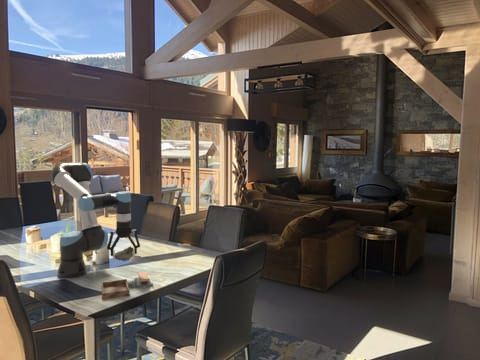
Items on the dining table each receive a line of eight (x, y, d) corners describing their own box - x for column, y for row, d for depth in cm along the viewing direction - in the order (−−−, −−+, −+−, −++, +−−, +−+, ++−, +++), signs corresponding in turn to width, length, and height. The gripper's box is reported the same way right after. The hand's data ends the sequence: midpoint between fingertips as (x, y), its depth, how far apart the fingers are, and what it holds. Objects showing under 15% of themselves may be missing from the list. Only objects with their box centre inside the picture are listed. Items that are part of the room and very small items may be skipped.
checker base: (137, 287, 194) (137, 282, 194) (134, 279, 205) (134, 274, 205) (153, 285, 197) (152, 280, 197) (149, 278, 208) (149, 273, 208)
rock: (132, 254, 215) (134, 245, 208) (133, 263, 211) (136, 255, 204) (111, 256, 210) (113, 247, 203) (112, 266, 206) (114, 257, 199)
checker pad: (140, 281, 195) (140, 279, 195) (138, 274, 205) (138, 272, 205) (149, 280, 197) (149, 278, 196) (146, 273, 207) (146, 271, 207)
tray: (102, 299, 180) (102, 293, 179) (101, 287, 194) (101, 282, 194) (129, 295, 184) (129, 290, 184) (126, 284, 199) (126, 279, 198)
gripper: (101, 223, 194) (102, 265, 197) (145, 221, 203) (145, 261, 205) (101, 220, 201) (101, 260, 204) (144, 218, 209) (143, 256, 212)
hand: (123, 260), depth 205 cm, fingers closed on rock, 10 cm apart
